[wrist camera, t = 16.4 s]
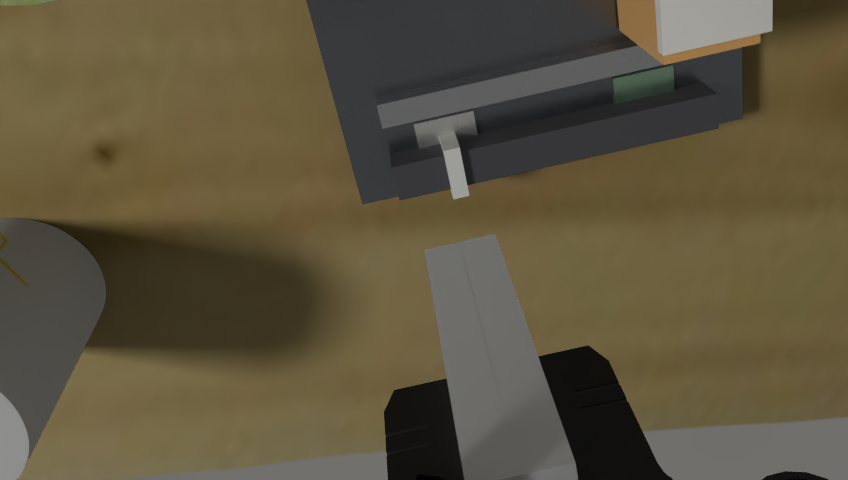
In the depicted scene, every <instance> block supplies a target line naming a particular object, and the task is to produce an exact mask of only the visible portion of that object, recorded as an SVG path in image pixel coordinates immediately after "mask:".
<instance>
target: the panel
mask: <svg viewBox="0 0 848 480" xmlns="http://www.w3.org/2000/svg"><path fill="white" fill-rule="evenodd" d="M307 4H308V8H309V11H310V15H311V19H312V22H313V26H314V29H315V33H316V37H317V40H318V44H319V48H320V51H321V55H322V59H323V62H324V66H325V69H326V73H327V77H328V80H329V84H330V88H331V91H332V95H333V99H334V102H335V106H336V109H337V113H338V117H339V120H340V124H341V128H342V131H343V135H344V138H345V142H346V146H347V149H348V153H349V157H350V160H351V164H352V168H353V171H354V175H355V178H356V182H357V186H358V189H359V193H360V197H361V200H362V204H366V203H370V202H375V201H379V200H384V199H388V198H393V197H397V196H398V192H397V188H396V184H395V180H394V176H393V172H392V168H391V159H390V154H391V153H395V152H400V151H404V150H408V149H413V148H417V147H419V148H424V147H428V146H433V145H437V144H441V143H440V138H439V136H443V135H447V134H452V133H455V135H456V138H457V140H459V139H463V138H468V137H472V136H477V135H478V134H479V133H483V132H487V131H492V130H496V129H501V128H505V127H509V126H514V125H518V124H523V123H527V122H531V121H536V120H540V119H544V118H549V117H553V116H558V115H562V114H566V113H571V112H575V111H580V110H584V109H588V108H593V107H597V106H602V105H606V104H610V103H615V104H617V103H622V102H626V101H630V100H635V99H639V98H644V97H648V96H652V95H657V94H661V93H666V92H670V91H674V90H675V89H676V88H681V87H685V86H689V85H694V84H698V83H704V84H705V85H707V86H708V87H709V88H711V89H712V90H714V91H715V92H716V93H718V124H720V123H724V122H729V121H733V120H737V119H742V118H743V92H742V47H741V48H737V49H732V50H728V51H724V52H719V53H715V54H711V55H706V56H702V57H697V58H693V59H689V60H684V61H680V62H676V63H671V64H667V65H663V64H662V63H660V62H659V61H658V60H657V59H655V58H654V57H653V56H651V55H650V54H649V53H648V52H646V51H645V50H644V49H643V48H641V47H640V46H639V45H637V44H636V43H635V42H634V41H632V40H631V39H630V38H628V37H627V36H626V35H625V34H623V33H622V32H621V31H619V20H618V8H617V0H307Z"/></svg>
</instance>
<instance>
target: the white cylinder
mask: <svg viewBox="0 0 848 480" xmlns="http://www.w3.org/2000/svg"><path fill="white" fill-rule="evenodd" d="M105 301H106V285H105V280H104V276H103V273H102V271H101V269H100V267H99V265H98V263H97V261H96V260H95V258H94V257H93V256H92V254H91V253H90V252H89V251H88V250H87V249H86V248H85V247H84V246H83V245H82V244H81V243H80V242H79V241H78V240H76V239H75V238H73V237H72V236H71V235H69V234H67V233H66V232H64V231H62V230H60V229H58V228H56V227H54V226H51V225H49V224H46V223H43V222H39V221H35V220H30V219H21V218H6V219H0V480H17V479H18V477H19V476H20V475H21V473H22V471H23V470H24V468H25V466H26V464H27V462H28V460H29V458H30V456H31V454H32V452H33V450H34V448H35V446H36V444H37V442H38V440H39V438H40V436H41V434H42V432H43V430H44V428H45V426H46V424H47V422H48V420H49V418H50V416H51V414H52V412H53V410H54V408H55V406H56V404H57V402H58V400H59V398H60V396H61V394H62V392H63V390H64V388H65V386H66V384H67V382H68V380H69V378H70V376H71V374H72V372H73V370H74V368H75V366H76V364H77V362H78V360H79V358H80V356H81V354H82V352H83V350H84V348H85V346H86V344H87V342H88V340H89V338H90V336H91V334H92V332H93V330H94V328H95V326H96V324H97V322H98V320H99V318H100V316H101V314H102V311H103V309H104V306H105Z"/></svg>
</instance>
